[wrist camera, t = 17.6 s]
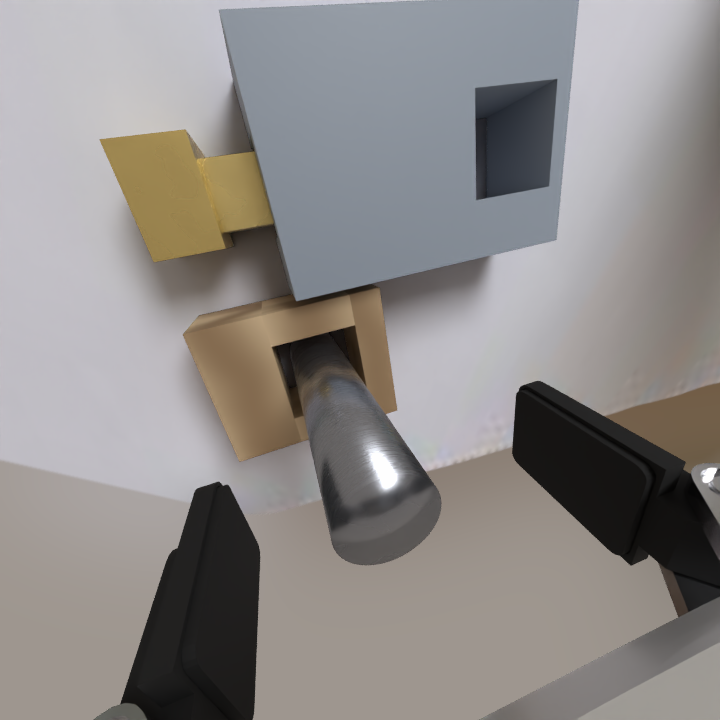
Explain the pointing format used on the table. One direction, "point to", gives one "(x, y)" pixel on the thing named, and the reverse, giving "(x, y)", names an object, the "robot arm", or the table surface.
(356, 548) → the metal cylinder rod
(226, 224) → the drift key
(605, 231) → the table surface
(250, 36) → the socket block
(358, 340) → the tan slotted block
